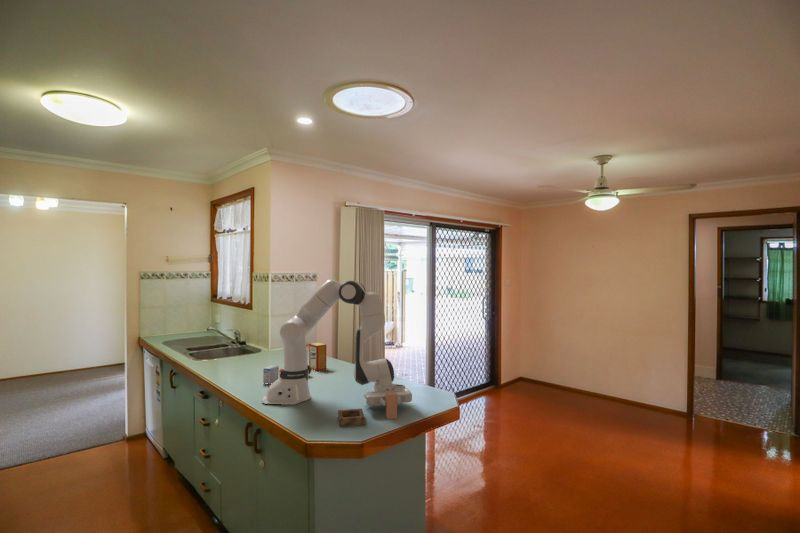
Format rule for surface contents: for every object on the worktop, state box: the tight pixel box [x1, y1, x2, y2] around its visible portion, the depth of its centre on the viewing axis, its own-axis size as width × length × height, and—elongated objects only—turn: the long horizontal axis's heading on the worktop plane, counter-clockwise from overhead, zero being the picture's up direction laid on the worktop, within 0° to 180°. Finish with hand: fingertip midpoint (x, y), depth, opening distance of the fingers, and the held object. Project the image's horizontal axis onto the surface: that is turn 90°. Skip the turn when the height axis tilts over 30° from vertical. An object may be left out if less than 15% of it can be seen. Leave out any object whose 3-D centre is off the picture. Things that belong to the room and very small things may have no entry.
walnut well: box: [337, 408, 366, 428], centre depth 158 cm, size 10×10×3 cm
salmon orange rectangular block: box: [385, 391, 398, 420], centre depth 163 cm, size 4×4×10 cm
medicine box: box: [262, 364, 280, 384], centre depth 213 cm, size 8×4×9 cm, turn 163°
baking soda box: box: [308, 342, 327, 372], centre depth 243 cm, size 10×6×16 cm
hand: (391, 403), depth 162 cm, fingers closed on salmon orange rectangular block, 4 cm apart
